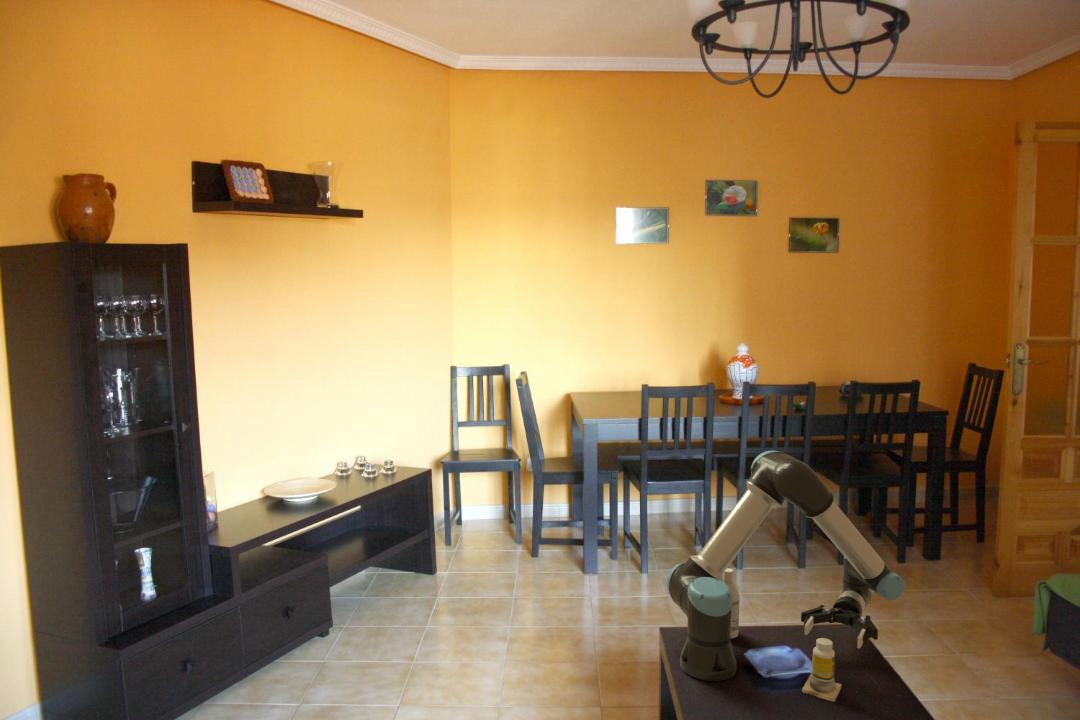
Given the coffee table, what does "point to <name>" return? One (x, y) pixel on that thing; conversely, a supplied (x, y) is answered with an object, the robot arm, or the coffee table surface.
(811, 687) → the boss
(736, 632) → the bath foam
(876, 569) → the robot arm
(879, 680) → the coffee table surface
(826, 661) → the supplement bottle
